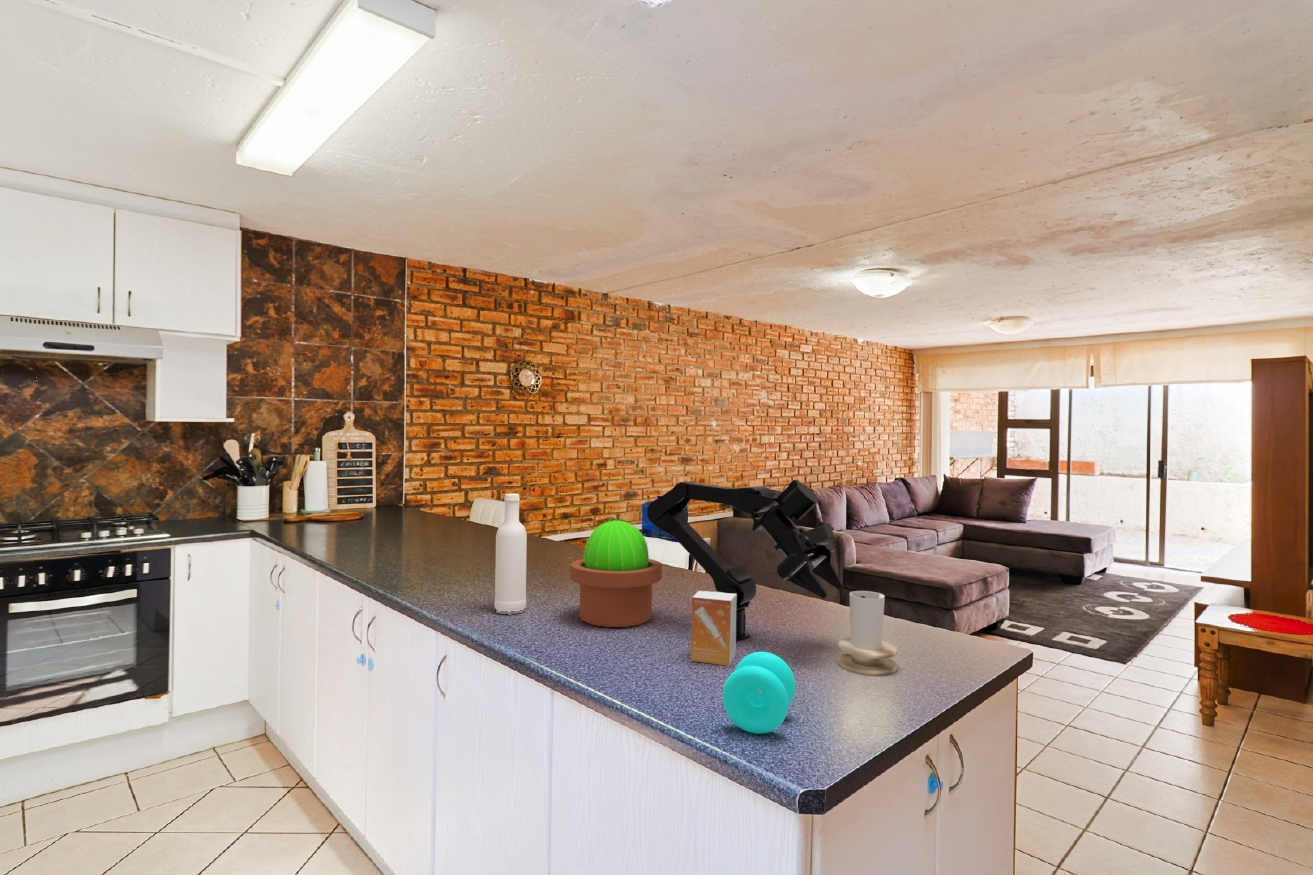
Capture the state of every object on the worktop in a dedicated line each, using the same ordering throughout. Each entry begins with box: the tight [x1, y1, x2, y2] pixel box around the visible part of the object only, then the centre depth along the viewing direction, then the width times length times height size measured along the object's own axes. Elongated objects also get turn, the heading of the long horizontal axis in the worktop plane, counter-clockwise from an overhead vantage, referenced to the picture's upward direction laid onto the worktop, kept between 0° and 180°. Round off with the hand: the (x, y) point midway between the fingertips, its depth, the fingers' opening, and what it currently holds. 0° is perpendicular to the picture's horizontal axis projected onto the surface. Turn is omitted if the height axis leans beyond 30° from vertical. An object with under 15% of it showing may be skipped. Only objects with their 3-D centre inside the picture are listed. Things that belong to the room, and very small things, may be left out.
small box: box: [690, 590, 737, 667], centre depth 130 cm, size 8×6×13 cm
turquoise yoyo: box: [722, 651, 797, 735], centre depth 100 cm, size 10×10×10 cm
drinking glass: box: [849, 590, 886, 650], centre depth 127 cm, size 7×7×10 cm
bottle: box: [494, 493, 528, 612], centre depth 164 cm, size 8×8×30 cm
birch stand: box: [838, 636, 898, 677], centre depth 127 cm, size 11×11×4 cm
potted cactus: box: [570, 518, 663, 629], centre depth 159 cm, size 22×22×25 cm
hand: (834, 592), depth 131 cm, fingers open, 9 cm apart
